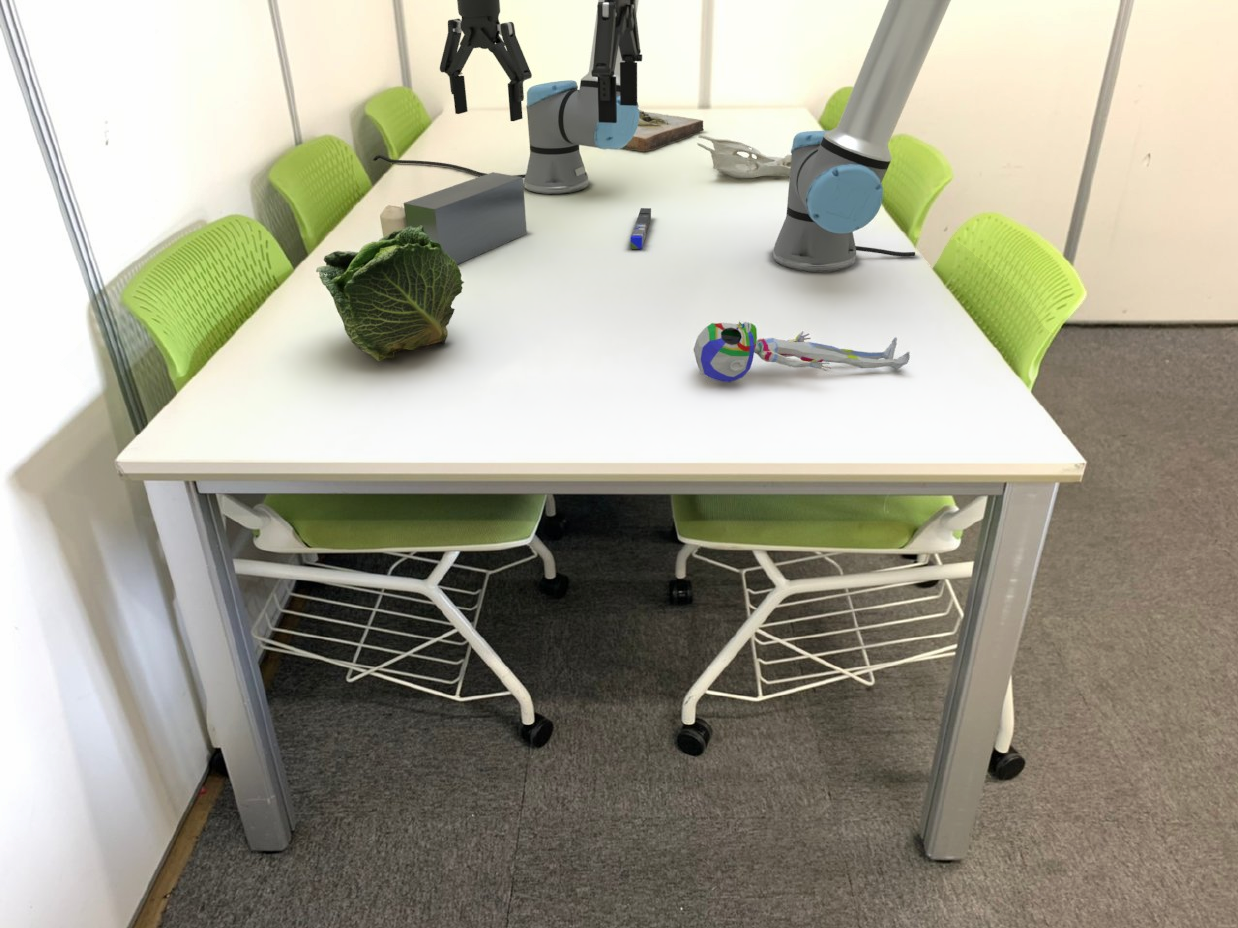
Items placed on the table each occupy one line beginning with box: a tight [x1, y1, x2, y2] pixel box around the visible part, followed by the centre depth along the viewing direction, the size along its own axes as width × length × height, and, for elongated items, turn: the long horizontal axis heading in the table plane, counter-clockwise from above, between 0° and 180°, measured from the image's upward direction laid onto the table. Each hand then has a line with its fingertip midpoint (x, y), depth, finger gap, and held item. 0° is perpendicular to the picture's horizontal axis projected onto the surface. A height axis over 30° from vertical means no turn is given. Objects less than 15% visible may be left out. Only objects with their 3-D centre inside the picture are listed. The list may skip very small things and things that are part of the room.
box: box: [403, 171, 528, 265], centre depth 175 cm, size 25×8×12 cm, turn 147°
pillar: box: [630, 207, 652, 250], centre depth 183 cm, size 2×2×20 cm
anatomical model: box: [696, 134, 792, 179], centre depth 218 cm, size 15×9×25 cm
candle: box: [379, 205, 407, 238], centre depth 170 cm, size 6×6×10 cm
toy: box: [692, 321, 911, 383], centre depth 128 cm, size 10×8×30 cm
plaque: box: [621, 109, 705, 152], centre depth 257 cm, size 30×7×30 cm
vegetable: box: [315, 225, 465, 362], centre depth 134 cm, size 20×19×20 cm
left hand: (488, 116), depth 171 cm, fingers open, 13 cm apart
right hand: (618, 113), depth 143 cm, fingers open, 13 cm apart
